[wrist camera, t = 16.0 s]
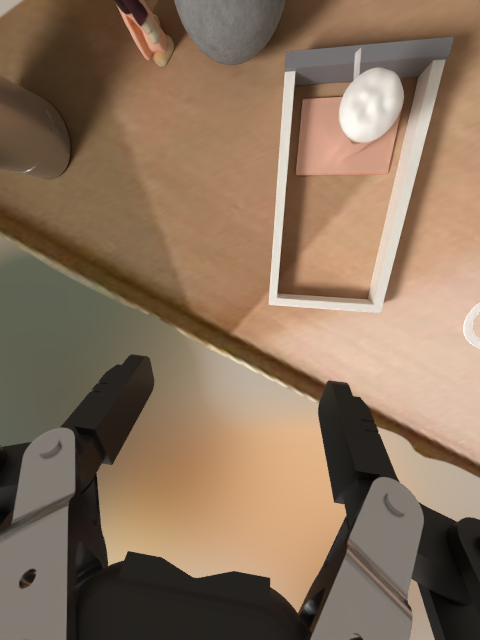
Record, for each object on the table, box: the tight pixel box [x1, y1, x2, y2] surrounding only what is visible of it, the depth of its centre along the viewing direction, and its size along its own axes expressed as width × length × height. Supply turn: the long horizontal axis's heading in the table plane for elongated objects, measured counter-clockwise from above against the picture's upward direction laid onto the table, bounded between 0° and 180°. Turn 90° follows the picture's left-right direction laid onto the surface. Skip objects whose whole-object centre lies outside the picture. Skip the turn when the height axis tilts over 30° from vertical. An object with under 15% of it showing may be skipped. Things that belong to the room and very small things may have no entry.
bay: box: [269, 36, 454, 313], centre depth 27 cm, size 14×25×3 cm, turn 179°
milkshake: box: [330, 47, 404, 159], centre depth 21 cm, size 5×5×10 cm
